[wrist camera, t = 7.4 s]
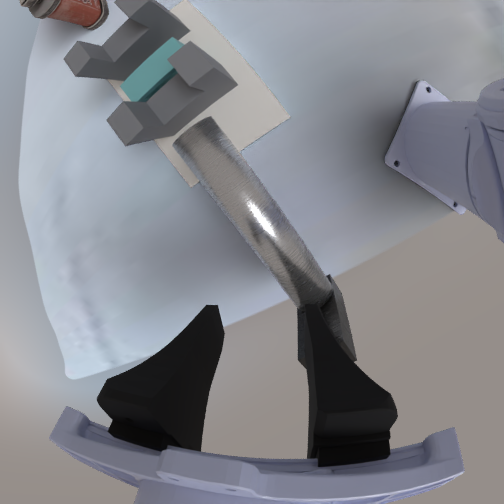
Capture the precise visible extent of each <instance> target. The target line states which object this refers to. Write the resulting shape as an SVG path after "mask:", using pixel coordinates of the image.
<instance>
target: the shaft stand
mask: <svg viewBox="0 0 504 504" xmlns="http://www.w3.org/2000/svg"><path fill="white" fill-rule="evenodd" d="M114 3H115V4H116V5H117V6H118V7H119V8H120V9H121V10H122V11H123V12H124V13H125V14H126V15H127V16H128V17H129V19H128V20H127V21H126V22H125V23H124V24H123V25H122V26H121V27H120V28H119V29H118V30H117V31H116V32H115V33H114V34H113V35H112V36H111V37H110V38H109V39H108V40H107V41H106V42H105V43H104V44H103V45H102V46H99V45H95V44H90V43H86V42H81V41H77V42H76V44H75V45H74V46H73V47H72V49H71V50H70V51H69V52H68V54H67V55H66V56H65V58H64V60H65V62H66V63H67V65H68V66H69V68H70V69H71V71H72V72H73V74H74V75H75V77H89V78H101V79H107V80H108V81H109V82H110V83H111V85H112V86H113V87H114V89H115V90H116V91H117V93H118V94H119V95H120V97H121V98H122V99H123V102H122V103H121V104H120V105H119V107H118V108H117V109H116V110H115V111H114V112H113V113H112V114H111V116H110V117H109V118H108V119H107V122H108V123H109V125H110V126H111V127H112V129H113V130H114V131H115V133H116V134H117V135H118V137H119V138H120V139H121V141H122V142H123V143H124V145H125V146H129V145H133V144H137V143H141V142H146V141H150V140H154V141H155V142H156V144H157V145H158V146H159V147H160V149H161V150H162V151H163V153H164V154H165V155H166V156H167V158H168V159H169V160H170V162H171V163H172V164H173V165H174V167H175V168H176V169H177V171H178V172H179V173H180V174H181V176H182V177H183V178H184V180H185V181H186V182H187V183H188V185H189V186H190V187H191V188H192V187H193V186H194V185H196V184H197V183H198V182H200V181H199V180H198V179H197V177H196V176H195V175H194V173H193V172H192V171H191V170H190V168H189V167H188V166H187V164H186V163H185V162H184V161H183V159H182V158H181V157H180V155H179V154H178V153H177V152H176V150H175V149H174V148H173V146H172V145H173V143H174V142H175V140H176V139H177V138H178V137H179V136H180V135H181V134H183V133H184V132H185V131H186V130H187V129H189V128H190V127H191V126H193V125H194V124H196V123H197V122H199V121H201V120H202V119H204V118H207V117H209V116H212V117H213V119H214V120H215V121H216V122H217V124H218V125H219V126H220V128H221V129H222V130H223V131H224V133H225V134H226V135H227V137H228V138H229V139H230V140H231V142H232V143H233V144H234V146H235V147H236V148H237V150H238V151H239V152H240V151H241V150H243V149H244V148H245V147H247V146H248V145H250V144H251V143H253V142H254V141H256V140H257V139H258V138H260V137H261V136H263V135H264V134H266V133H267V132H269V131H270V130H272V129H273V128H275V127H276V126H278V125H280V124H281V123H283V122H284V121H286V120H287V119H289V118H290V116H289V114H288V113H287V112H286V110H285V109H284V108H283V106H282V105H281V104H280V102H279V101H278V100H277V98H276V97H275V96H274V95H273V93H272V92H271V91H270V89H269V88H268V87H267V86H266V84H265V83H264V82H263V81H262V79H261V78H260V77H259V76H258V75H257V73H256V72H255V71H254V70H253V69H252V67H251V66H250V65H249V64H248V63H247V61H246V60H245V59H244V58H243V57H242V56H241V55H240V53H239V52H238V51H237V50H236V49H235V48H234V47H233V46H232V45H231V43H230V42H229V41H228V40H227V39H226V38H225V37H224V36H223V35H222V34H221V33H220V32H219V31H218V30H217V29H216V28H215V27H214V26H213V25H212V24H211V23H210V22H209V21H208V20H207V19H206V18H205V17H204V16H203V15H202V14H201V13H200V12H199V11H198V10H197V9H196V8H195V7H194V6H193V5H192V4H191V3H190V2H189V1H188V0H183V1H182V2H180V3H179V4H177V5H176V6H175V7H173V8H172V9H171V10H170V11H169V10H167V9H166V8H165V7H164V6H162V5H161V4H160V3H158V2H157V1H155V0H116V1H115V2H114ZM172 37H173V38H175V39H176V40H178V41H180V42H181V43H183V44H184V46H182V47H181V48H180V49H179V50H178V51H176V52H175V53H174V54H173V55H172V56H170V57H169V58H168V59H167V60H168V61H169V63H170V64H171V65H172V66H173V67H174V68H175V70H176V71H177V72H178V73H177V74H176V75H175V76H174V77H173V78H172V79H170V80H169V81H168V82H167V83H166V84H165V85H164V86H163V87H161V88H160V89H159V90H158V91H157V92H156V93H155V94H154V95H153V96H152V97H151V98H150V99H149V100H148V101H147V102H133V101H131V100H130V99H129V98H128V96H127V95H126V94H125V92H124V91H123V90H122V89H121V87H120V85H121V84H122V83H123V82H124V81H125V80H126V79H127V78H128V77H129V76H130V75H131V74H132V73H133V72H134V71H135V70H136V69H137V68H138V67H139V66H140V65H141V64H142V63H143V62H144V61H145V60H146V59H147V58H149V57H150V56H151V55H152V54H153V53H154V52H155V51H156V50H157V49H159V48H160V47H161V46H162V45H163V44H164V43H166V42H167V41H168V40H169V39H170V38H172Z"/></svg>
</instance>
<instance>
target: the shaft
mask: <svg viewBox="0 0 504 504" xmlns="http://www.w3.org/2000/svg"><path fill="white" fill-rule="evenodd" d="M172 146H173V148H174V149H175V150H176V152H177V153H178V154H179V155H180V157H181V158H182V159H183V161H184V162H185V163H186V164H187V166H188V167H189V168H190V170H191V171H192V172H193V173H194V175H195V176H196V177H197V179H198V180H199V181H200V183H201V184H202V185H203V186H204V188H205V189H206V190H207V192H208V193H209V194H210V195H211V197H212V198H213V199H214V201H215V202H216V203H217V204H218V206H219V207H220V208H221V210H222V211H223V212H224V213H225V215H226V216H227V217H228V219H229V220H230V221H231V223H232V224H233V225H234V226H235V228H236V229H237V230H238V232H239V233H240V234H241V235H242V237H243V238H244V239H245V241H246V242H247V243H248V244H249V246H250V247H251V248H252V250H253V251H254V252H255V254H256V255H257V256H258V257H259V259H260V260H261V261H262V263H263V264H264V265H265V266H266V268H267V269H268V270H269V272H270V273H271V274H272V276H273V277H274V278H275V279H276V281H277V282H278V283H279V285H280V286H281V287H282V288H283V290H284V291H285V292H286V294H287V295H288V296H289V298H290V299H291V300H292V301H293V302H294V304H295V305H296V307H297V315H298V361H299V362H300V363H301V364H302V365H303V366H304V367H305V368H306V360H305V348H304V321H305V304H318V305H319V306H320V309H321V312H322V314H323V317H324V319H325V321H326V323H327V324H328V326H329V328H330V330H331V331H332V333H333V335H334V336H335V338H336V340H337V341H338V342H339V344H340V345H341V347H342V348H343V350H344V351H345V352H346V353H347V355H348V356H349V357H350V358H351V359H352V361H353V362H354V361H357V358H356V354H355V348H354V344H353V339H352V334H351V330H350V325H349V321H348V317H347V313H346V309H345V305H344V301H343V297H342V293H341V292H340V290H339V288H338V287H337V285H336V283H335V282H334V280H333V279H332V277H331V275H330V274H329V275H327V276H326V275H325V274H324V272H323V271H322V269H321V268H320V266H319V265H318V263H317V262H316V260H315V259H314V257H313V256H312V254H311V252H310V251H309V249H308V248H307V247H306V245H305V244H304V242H303V241H302V239H301V238H300V236H299V235H298V233H297V232H296V230H295V229H294V227H293V226H292V224H291V223H290V222H289V220H288V219H287V217H286V216H285V214H284V213H283V211H282V210H281V209H280V207H279V206H278V204H277V203H276V202H275V200H274V199H273V197H272V196H271V195H270V193H269V192H268V190H267V189H266V188H265V186H264V185H263V183H262V182H261V181H260V179H259V178H258V177H257V175H256V174H255V172H254V171H253V170H252V168H251V167H250V166H249V164H248V163H247V162H246V160H245V159H244V158H243V156H242V155H241V154H240V152H239V151H238V150H237V148H236V147H235V146H234V144H233V143H232V142H231V140H230V139H229V138H228V137H227V135H226V134H225V133H224V131H223V130H222V129H221V128H220V126H219V125H218V124H217V122H216V121H215V120H214V119H213V117H212V116H209V117H207V118H204V119H202V120H201V121H199V122H197V123H196V124H194V125H193V126H191V127H190V128H189V129H187V130H186V131H185V132H184V133H183V134H181V135H180V136H179V137H178V138H177V139H176V140H175V142H174V143H173V145H172ZM306 369H307V368H306Z"/></svg>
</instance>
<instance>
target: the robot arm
mask: <svg viewBox="0 0 504 504" xmlns="http://www.w3.org/2000/svg"><path fill="white" fill-rule="evenodd" d="M426 87H428V89H429V93H428V92H427V91H426ZM396 160H397V161H398V165H397V166H394V162H395V161H396ZM385 163H386V164H387V165H388V166H389V167H391V168H393V169H394V170H396V171H398V172H399V173H401V174H402V175H404V176H406V177H407V178H409V179H410V180H412V181H413V182H415V183H416V184H418V185H419V186H421V187H422V188H424V189H425V190H427V191H428V192H430V193H431V194H433V195H434V196H435V197H437V198H438V199H440V200H441V201H442V202H444V203H445V204H447V205H448V206H449V207H451V208H452V209H453V210H455V211H456V212H457V213H459V214H460V215H462V214H464V212H465V211H466V209H468V210H469V211H471V212H472V213H474V214H475V215H477V216H478V217H479V218H481V219H482V220H484V221H485V222H486V223H488V224H489V225H490V226H492V227H493V228H494V229H495V230H496V232H497V236H498V239H500V240H501V241H502V242H503V243H504V78H503V79H500V80H498V81H495V82H493V83H491V84H489V85H488V86H486V87H485V88H484V89H483V90H482V91H481V93H480V96H479V99H478V100H477V102H470V101H450V100H449V99H448V98H447V97H445V96H444V95H443V94H442V93H440V92H439V91H438V90H436V89H435V88H434V87H432V86H431V85H430V84H428V83H427V82H426V81H424V80H420V81H418V82H417V84H416V86H415V89H414V92H413V94H412V97H411V99H410V102H409V104H408V106H407V109H406V111H405V114H404V116H403V118H402V121H401V123H400V125H399V127H398V130H397V132H396V134H395V136H394V139H393V141H392V143H391V145H390V147H389V150H388V152H387V154H386V156H385ZM454 202H456V203H455V205H454V206H453V204H454ZM224 334H225V333H224V329H223V325H222V321H221V317H220V313H219V308H218V305H206V306H205V307H204V308H203V309H202V310H201V311H200V313H199V314H198V315H197V316H196V317H195V318H194V319H193V320H192V321H191V322H190V323H189V324H188V326H187V327H186V328H185V329H184V330H183V331H182V332H181V333H180V334H179V335H178V336H177V337H175V338H174V339H173V340H172V341H171V342H170V343H169V344H168V345H167V346H165V347H164V348H163V349H162V350H160V351H159V352H158V353H156V354H155V355H153V356H152V357H150V358H149V359H147V360H146V361H144V362H143V363H141V364H139V365H137V366H136V367H134V368H132V369H130V370H128V371H126V372H124V373H121V374H119V375H116V376H114V377H111V378H109V379H107V380H106V383H105V384H104V386H103V388H102V390H101V391H100V393H99V395H98V397H97V402H98V404H99V405H100V407H101V408H102V409H103V410H104V411H105V412H106V413H107V414H108V416H109V417H110V418H111V419H112V420H113V421H112V423H111V425H110V427H109V428H108V427H105V426H102V425H100V424H97V423H95V422H92V421H90V420H89V419H88V417H87V416H85V415H84V414H83V413H81V412H80V411H77V410H75V409H73V408H71V407H68V406H66V408H65V409H64V411H63V413H62V414H61V417H60V418H59V420H58V422H57V424H56V425H55V428H54V429H53V431H52V433H51V435H50V437H49V439H50V440H51V441H52V442H53V443H55V444H56V445H57V446H58V447H60V448H61V449H62V450H64V451H65V452H67V453H68V454H69V455H71V456H72V457H74V458H75V459H77V460H79V461H81V462H83V463H84V464H86V465H88V466H90V467H92V468H94V469H96V470H98V471H101V472H103V473H105V474H107V475H109V476H111V477H113V478H116V479H118V480H120V481H123V482H125V483H127V484H130V485H132V486H135V487H137V488H139V489H138V492H137V495H136V498H135V501H134V504H385V503H389V502H393V501H397V500H401V499H404V498H407V497H411V496H414V495H418V494H421V493H424V492H427V491H430V490H433V489H435V488H438V487H440V486H442V485H444V484H446V483H447V482H449V481H451V480H453V479H454V478H456V477H457V476H459V475H461V474H462V473H464V471H465V470H464V465H463V460H462V455H461V451H460V447H459V442H458V439H457V434H456V431H455V428H454V427H452V428H449V429H446V430H443V431H440V432H436V433H434V434H431V435H429V436H428V437H427V438H426V439H425V440H424V441H423V442H421V443H417V444H413V445H409V446H405V447H400V448H395V449H391V450H390V445H389V439H390V431H389V430H390V428H391V427H392V425H393V424H394V423H395V421H396V419H397V417H398V415H397V409H396V406H395V403H394V400H393V398H392V397H391V394H390V393H389V392H387V391H386V390H384V389H383V388H382V387H380V386H379V385H378V384H376V383H375V382H374V381H373V380H372V379H370V378H369V377H368V376H367V375H366V374H365V373H364V372H363V371H362V370H361V369H360V368H359V367H358V366H357V365H356V364H355V363H354V362H353V361H352V359H351V358H350V357H349V356H348V355H347V353H346V352H345V351H344V350H343V348H342V347H341V345H340V344H339V342H338V341H337V340H336V338H335V336H334V335H333V333H332V331H331V330H330V328H329V326H328V324H327V323H326V321H325V319H324V317H323V314H322V312H321V309H320V306H319V305H318V304H305V321H304V348H305V360H306V368H307V377H308V385H309V428H308V453H307V459H264V458H248V457H237V456H227V455H219V454H213V453H206V452H201V444H202V434H203V427H204V419H205V413H206V406H207V401H208V396H209V391H210V387H211V384H212V380H213V377H214V374H215V371H216V368H217V365H218V361H219V358H220V355H221V352H222V347H223V341H224Z"/></svg>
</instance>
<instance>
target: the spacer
mask: <svg viewBox="0 0 504 504" xmlns="http://www.w3.org/2000/svg"><path fill="white" fill-rule="evenodd" d="M182 46H184V44H183V43H181V42H180V41H178V40H176V39H175V38H173V37H172V38H170V39H169V40H168V41H167V42H166V43H164V44H163V45H162V46H161V47H160V48H159V49H157V50H156V51H155V52H154V53H153V54H152V55H151V56H150V57H149V58H147V59H146V60H145V61H144V62H143V63H142V64H141V65H140V66H139V67H138V68H137V69H136V70H135V71H134V72H133V73H132V74H131V75H130V76H129V77H128V78H127V79H126V80H125V81H124V82H123V83H122V84H121V85H120V87H121V89H122V90H123V91H124V92H125V94H126V95H127V96H128V98H129V99H130V100H131V101H133V102H147V101H148V100H149V99H150V98H151V97H152V96H153V95H154V94H155V93H156V92H157V91H158V90H159V89H160V88H161V87H163V86H164V85H165V84H166V83H167V82H168V81H169V80H170V79H172V78H173V77H174V76H175V75H176V74H177V73H178V72H177V71H176V70H175V68H174V67H173V66H172V65H171V64H170V63H169V61H168V60H167V59H168V58H169V57H170V56H172V55H173V54H174V53H175V52H176V51H178V50H179V49H180V48H181V47H182Z"/></svg>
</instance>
